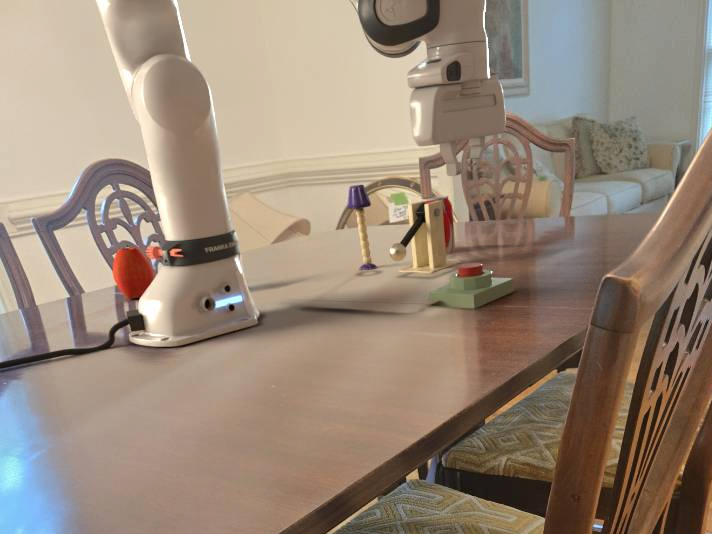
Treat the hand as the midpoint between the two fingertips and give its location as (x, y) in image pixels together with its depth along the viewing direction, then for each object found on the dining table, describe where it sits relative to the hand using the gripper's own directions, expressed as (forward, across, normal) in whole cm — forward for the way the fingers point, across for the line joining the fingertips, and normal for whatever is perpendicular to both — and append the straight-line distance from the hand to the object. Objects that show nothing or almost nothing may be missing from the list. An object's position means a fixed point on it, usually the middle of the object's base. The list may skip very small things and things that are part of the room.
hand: (464, 173), depth 119 cm
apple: (+19, +15, -74) cm, 78 cm away
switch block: (+19, 0, 0) cm, 19 cm away
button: (+15, 0, 0) cm, 15 cm away
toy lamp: (+19, -15, -36) cm, 44 cm away
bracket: (+19, -18, -22) cm, 34 cm away
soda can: (+19, -32, -30) cm, 48 cm away
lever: (+12, -14, -22) cm, 29 cm away
